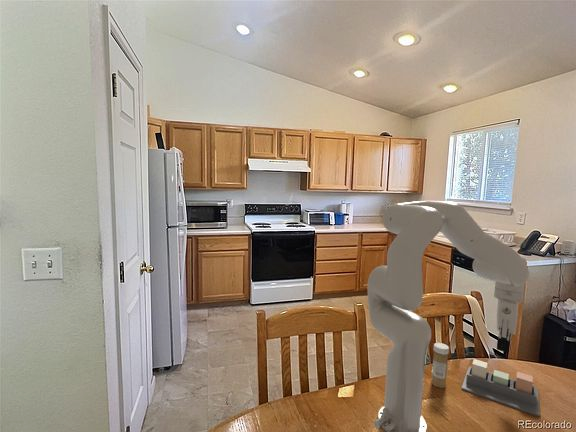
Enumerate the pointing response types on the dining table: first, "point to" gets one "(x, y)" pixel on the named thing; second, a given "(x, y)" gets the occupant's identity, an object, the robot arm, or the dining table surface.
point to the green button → (500, 378)
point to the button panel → (502, 392)
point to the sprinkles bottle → (440, 365)
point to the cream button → (479, 369)
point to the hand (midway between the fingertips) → (502, 350)
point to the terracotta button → (524, 383)
